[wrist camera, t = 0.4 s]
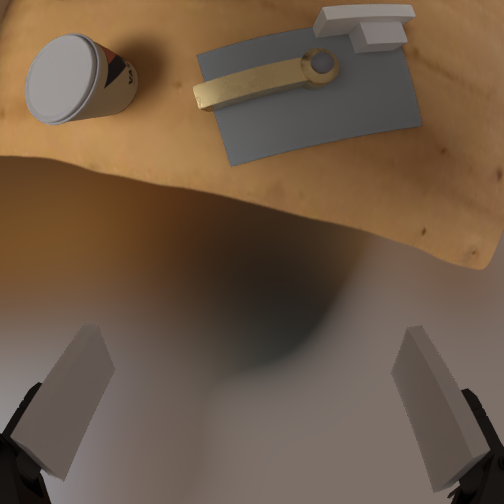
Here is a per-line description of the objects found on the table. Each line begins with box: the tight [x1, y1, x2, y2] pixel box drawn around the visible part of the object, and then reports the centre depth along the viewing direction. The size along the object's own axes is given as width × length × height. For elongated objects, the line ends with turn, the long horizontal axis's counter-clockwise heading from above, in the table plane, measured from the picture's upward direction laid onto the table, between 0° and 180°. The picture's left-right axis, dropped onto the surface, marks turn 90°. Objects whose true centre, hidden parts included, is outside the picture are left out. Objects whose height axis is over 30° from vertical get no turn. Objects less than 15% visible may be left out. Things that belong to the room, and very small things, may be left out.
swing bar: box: [193, 48, 339, 112], centre depth 26 cm, size 14×4×6 cm, turn 106°
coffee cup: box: [25, 33, 138, 125], centre depth 25 cm, size 9×9×12 cm
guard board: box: [197, 4, 422, 167], centre depth 26 cm, size 14×24×8 cm, turn 106°
